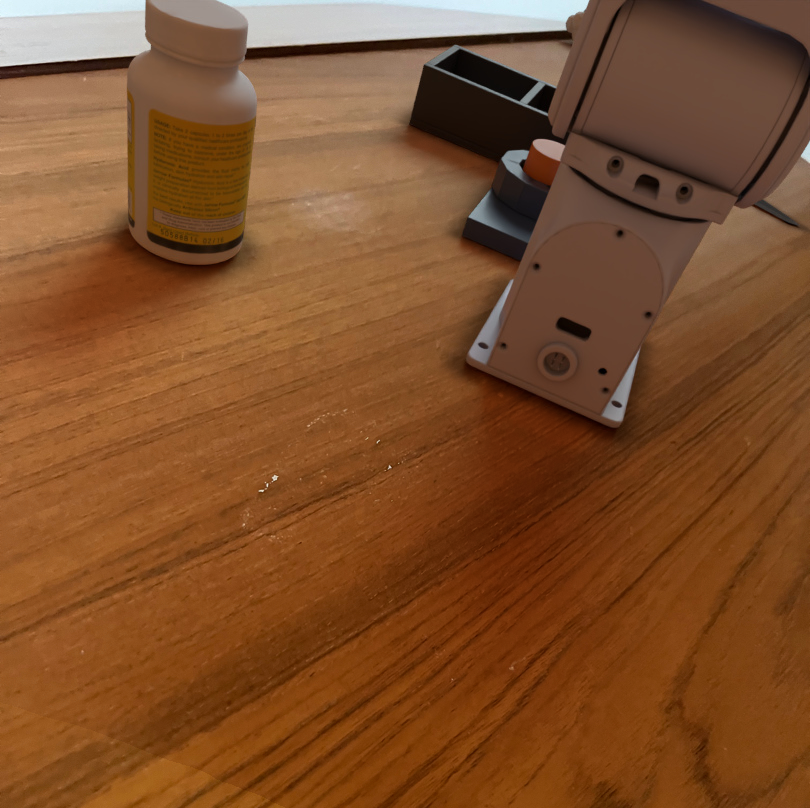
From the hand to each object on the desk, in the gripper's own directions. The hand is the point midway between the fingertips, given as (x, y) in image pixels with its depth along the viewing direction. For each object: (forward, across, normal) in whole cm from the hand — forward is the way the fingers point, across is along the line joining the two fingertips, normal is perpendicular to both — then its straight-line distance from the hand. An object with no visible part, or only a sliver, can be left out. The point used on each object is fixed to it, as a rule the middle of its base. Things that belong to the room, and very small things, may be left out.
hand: (665, 36), depth 49 cm
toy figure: (+6, -5, -43) cm, 43 cm away
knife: (+10, -9, -10) cm, 17 cm away
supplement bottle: (+10, +18, +29) cm, 36 cm away
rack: (+10, +7, -1) cm, 12 cm away
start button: (+7, +3, +11) cm, 13 cm away
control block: (+10, +2, +12) cm, 16 cm away
